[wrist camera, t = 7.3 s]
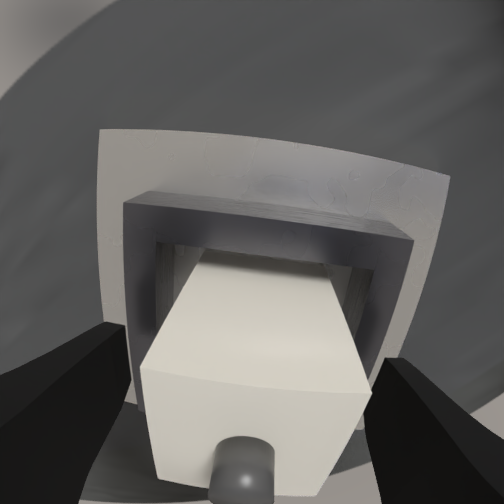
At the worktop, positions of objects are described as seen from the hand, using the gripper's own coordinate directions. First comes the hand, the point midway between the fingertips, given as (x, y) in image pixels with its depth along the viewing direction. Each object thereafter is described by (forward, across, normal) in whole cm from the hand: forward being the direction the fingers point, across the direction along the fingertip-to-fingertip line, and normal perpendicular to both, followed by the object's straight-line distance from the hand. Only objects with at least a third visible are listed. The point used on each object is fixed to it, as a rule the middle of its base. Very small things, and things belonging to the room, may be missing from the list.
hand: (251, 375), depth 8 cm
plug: (+3, 0, 0) cm, 3 cm away
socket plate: (+4, 0, 0) cm, 4 cm away
